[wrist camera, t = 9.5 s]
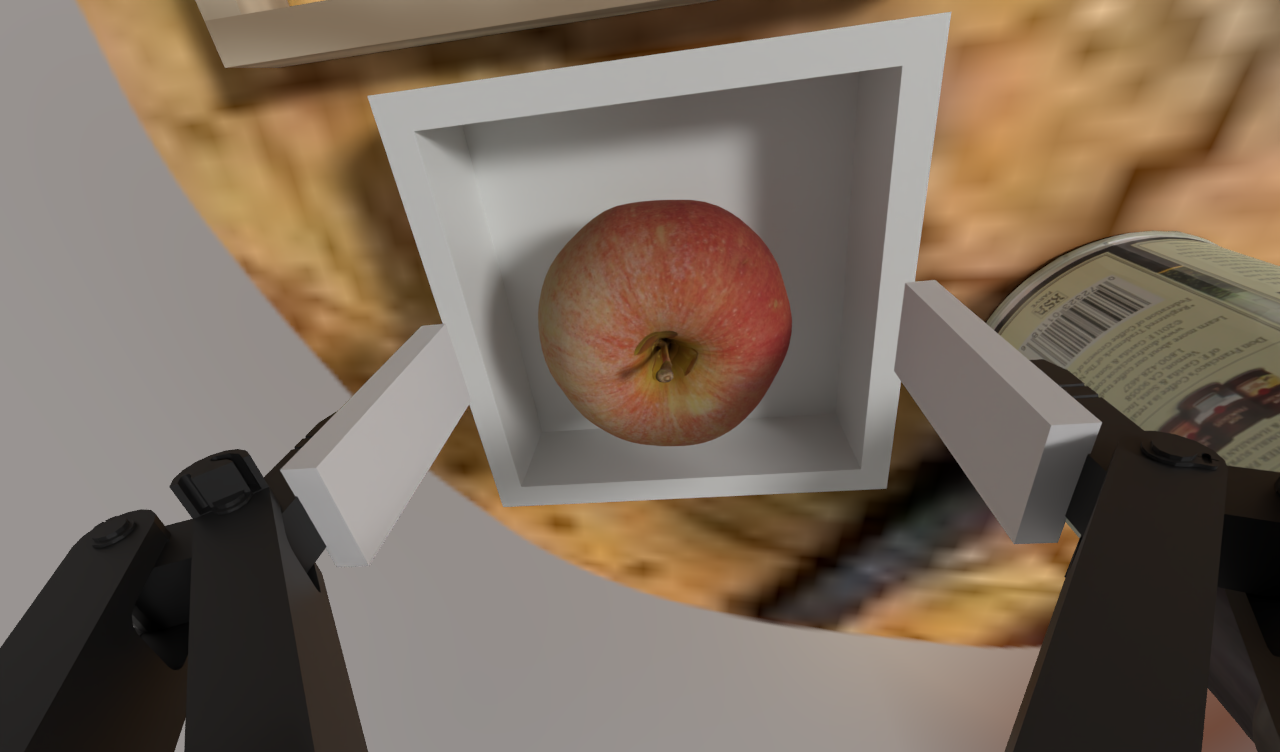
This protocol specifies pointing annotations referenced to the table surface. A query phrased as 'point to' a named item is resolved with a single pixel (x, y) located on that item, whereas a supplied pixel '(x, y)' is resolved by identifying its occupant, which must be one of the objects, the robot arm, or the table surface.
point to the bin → (683, 170)
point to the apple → (665, 321)
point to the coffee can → (1171, 372)
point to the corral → (382, 24)
